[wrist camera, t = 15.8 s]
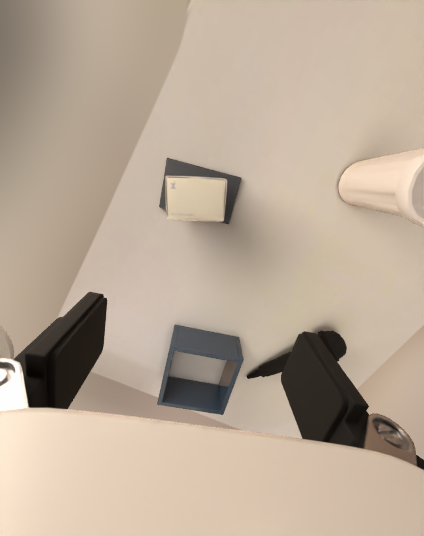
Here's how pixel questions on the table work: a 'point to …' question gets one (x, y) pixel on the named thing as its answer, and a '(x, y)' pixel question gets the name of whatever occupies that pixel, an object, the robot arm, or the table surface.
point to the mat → (191, 170)
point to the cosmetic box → (195, 198)
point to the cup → (387, 184)
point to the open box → (201, 393)
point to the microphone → (277, 365)
